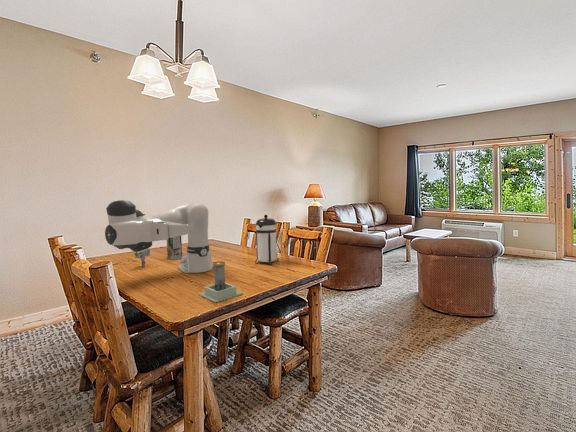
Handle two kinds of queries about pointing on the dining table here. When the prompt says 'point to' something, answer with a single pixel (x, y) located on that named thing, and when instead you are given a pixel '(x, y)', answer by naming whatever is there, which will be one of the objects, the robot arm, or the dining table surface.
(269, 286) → the dining table surface
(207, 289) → the green square tray
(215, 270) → the pin
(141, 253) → the mechanical component
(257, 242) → the coffee press
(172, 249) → the coffee box
